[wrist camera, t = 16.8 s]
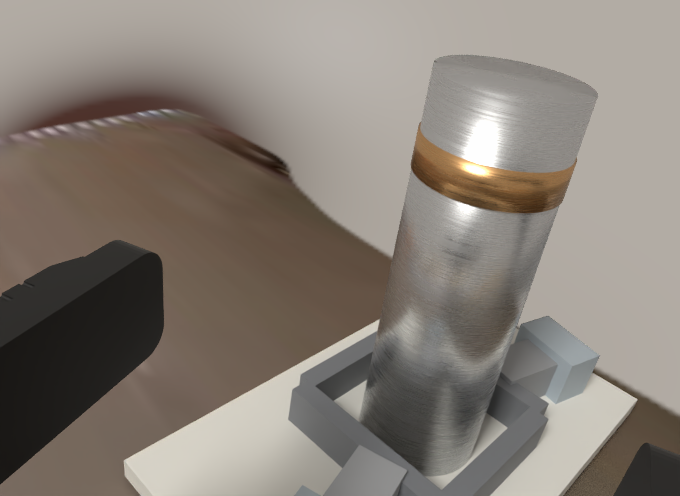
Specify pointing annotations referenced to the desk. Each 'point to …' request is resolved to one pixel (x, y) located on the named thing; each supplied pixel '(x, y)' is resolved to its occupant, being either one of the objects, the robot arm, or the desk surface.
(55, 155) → the desk surface
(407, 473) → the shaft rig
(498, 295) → the cylinder
